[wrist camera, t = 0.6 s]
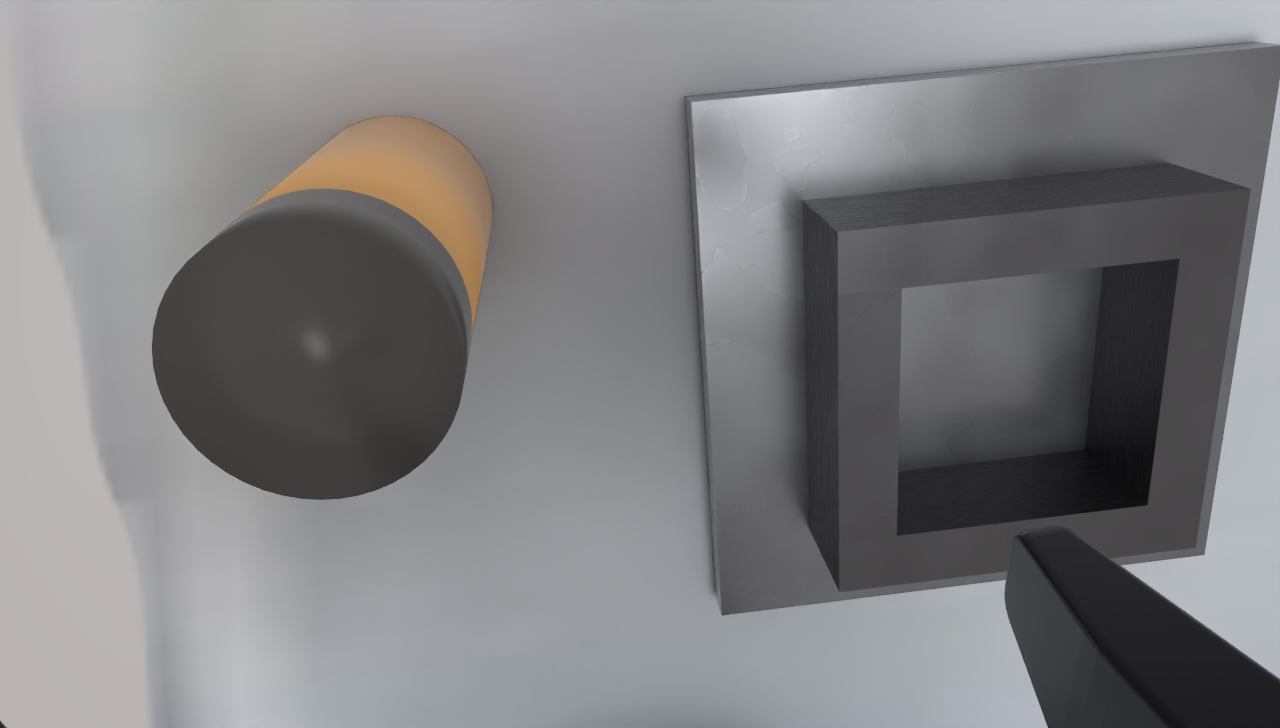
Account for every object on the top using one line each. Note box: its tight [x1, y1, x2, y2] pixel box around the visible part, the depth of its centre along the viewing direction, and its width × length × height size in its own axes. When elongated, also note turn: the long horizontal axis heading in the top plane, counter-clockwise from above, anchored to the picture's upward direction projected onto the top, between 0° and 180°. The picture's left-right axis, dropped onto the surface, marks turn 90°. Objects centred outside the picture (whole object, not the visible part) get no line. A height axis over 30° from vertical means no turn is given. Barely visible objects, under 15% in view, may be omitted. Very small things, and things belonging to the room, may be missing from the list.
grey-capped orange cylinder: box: [152, 116, 493, 500], centre depth 19 cm, size 4×4×10 cm
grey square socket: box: [685, 42, 1280, 615], centre depth 25 cm, size 14×14×4 cm
